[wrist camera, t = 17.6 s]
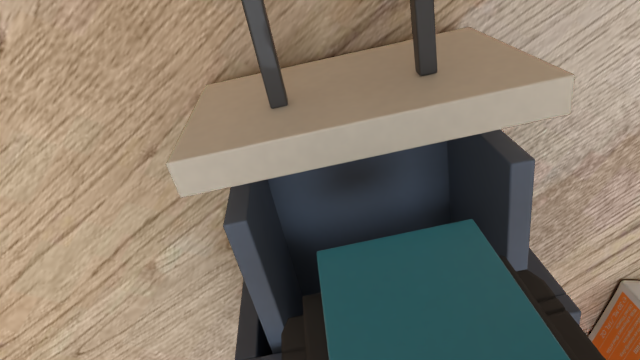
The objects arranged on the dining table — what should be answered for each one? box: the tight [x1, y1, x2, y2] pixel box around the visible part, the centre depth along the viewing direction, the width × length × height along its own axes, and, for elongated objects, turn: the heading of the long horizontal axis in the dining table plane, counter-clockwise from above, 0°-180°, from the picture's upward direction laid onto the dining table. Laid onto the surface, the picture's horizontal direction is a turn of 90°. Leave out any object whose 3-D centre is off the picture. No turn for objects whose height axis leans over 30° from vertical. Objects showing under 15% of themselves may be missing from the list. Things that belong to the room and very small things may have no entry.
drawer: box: [166, 0, 575, 354], centre depth 17 cm, size 19×12×7 cm, turn 11°
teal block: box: [316, 219, 570, 360], centre depth 11 cm, size 4×4×5 cm
